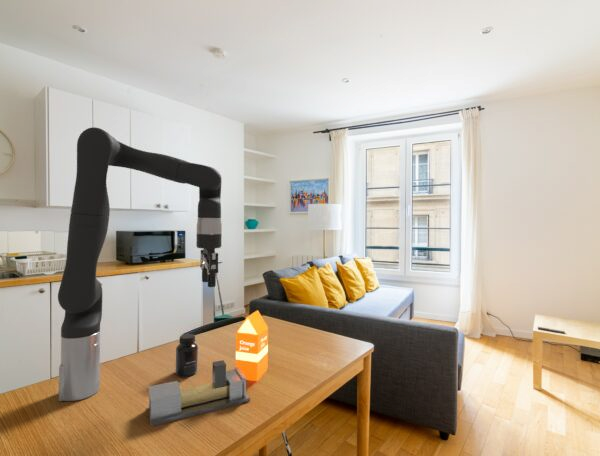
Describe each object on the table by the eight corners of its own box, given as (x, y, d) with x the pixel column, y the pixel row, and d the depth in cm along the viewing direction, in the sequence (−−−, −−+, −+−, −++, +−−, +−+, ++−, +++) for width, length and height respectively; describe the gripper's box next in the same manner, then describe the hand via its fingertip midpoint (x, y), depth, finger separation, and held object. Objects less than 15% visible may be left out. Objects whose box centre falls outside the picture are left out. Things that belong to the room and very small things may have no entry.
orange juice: (267, 369, 109) (268, 310, 109) (257, 381, 100) (258, 317, 100) (246, 366, 111) (247, 308, 111) (234, 378, 102) (235, 315, 102)
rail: (150, 426, 77) (151, 399, 77) (148, 407, 85) (149, 383, 85) (249, 401, 89) (250, 378, 89) (240, 386, 97) (240, 365, 97)
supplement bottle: (190, 378, 101) (190, 340, 101) (171, 376, 103) (171, 339, 103) (201, 369, 108) (201, 333, 108) (183, 366, 110) (183, 332, 109)
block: (177, 408, 83) (178, 373, 83) (176, 401, 86) (176, 368, 86) (238, 394, 90) (238, 362, 90) (234, 388, 93) (234, 357, 93)
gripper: (192, 231, 105) (192, 281, 105) (201, 233, 92) (200, 289, 92) (215, 232, 108) (215, 279, 109) (227, 233, 96) (226, 287, 96)
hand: (208, 284), depth 100 cm, fingers open, 8 cm apart
